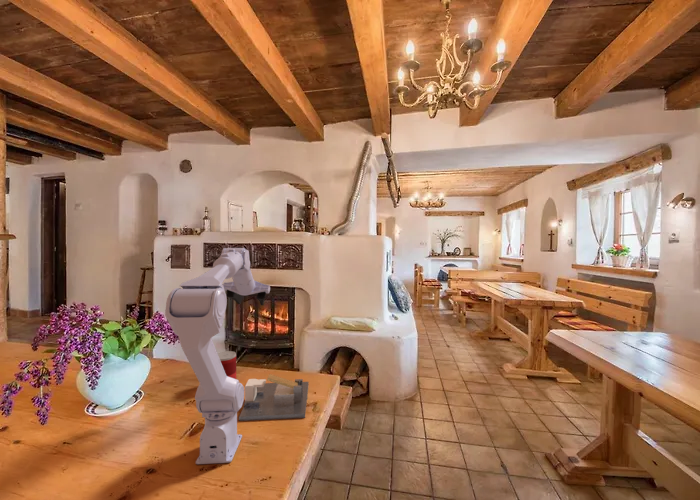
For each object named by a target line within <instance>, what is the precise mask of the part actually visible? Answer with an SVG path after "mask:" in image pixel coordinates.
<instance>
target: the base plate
mask: <svg viewBox="0 0 700 500" xmlns="http://www.w3.org/2000/svg"><path fill="white" fill-rule="evenodd" d="M294 382H297V383H300V386H294V389H293V388H290V387H287V386H284V385H281V384H277V383H274V382H267V383H266V382H265V385H264V387H257V395H256V398H255V400H254V401H246V402H245V401H243V407H242V409H241V411H240V413H239V415H238V421H239V422H242V421H243V422H246V421H248V422H249V421H264V420H265V421H266V420H268V421H269V420H286V419H302V418H303V419H304V418H306V410H307V404H308V403H307V402H308V393H309V381H304V380H303V379H302V378H298V379H297V378H295V380H294Z"/></svg>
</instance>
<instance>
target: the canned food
mask: <svg viewBox="0 0 700 500" xmlns="http://www.w3.org/2000/svg"><path fill="white" fill-rule="evenodd" d="M217 353H218V356H219V358H220V361H221V363H222V366H223V368H224V371H225V373H226V376H228V377H231V378H234V379H237V353H236V352H235V351H231V350H227V351H226V350H224V351H220V352H217Z"/></svg>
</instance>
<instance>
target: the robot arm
mask: <svg viewBox="0 0 700 500" xmlns="http://www.w3.org/2000/svg"><path fill="white" fill-rule="evenodd" d="M212 264H213V265H212V268H210V269H209V270H207V271H206V272H204V273H202V274H201V275H199V276H198V277H195V278H191V279H189V280H185V281H184V282H182V283H181V284H179V287H176V288H173V289H172V290H171V291H170V293H169V294H168V296H167V298H166V304H165V310H164V311H165V313H164V316H165V317H166V320H167V323H168V324H169V325H170V327H171V329H172V331H173V333H174V334H175V335H177V337H178V340H179V343H180V347H181V349H182V352H183V353H184V355H185V357H186V359H187V361H188V363H189V364H190V365H189V366H190V367H191V370H192V371H193V373H194V374H195V376H196V379H197V381H198V382H199V384H198V386H197V389H196V391H195V396H194V400H195V404H196V406H195V407H196V410H197V412H198V413H200V414H201V417H202V418H204V427H203V430H202V431H201V433H200V436H199V455H198V457H197V459H196V460H195V464H196V465H209V464H210V465H211V464H225V463H231V462H232V461H233V459H234V457H235V454H236V453H237V449H238V447H239V445H240V442H241V440H242V438H243V435H242V434H238V412H239V411H240V410H241V408H243V405H244V401H245V386H244V385H243V383H241V382H240V381H239V379H237V378H236V379H234V378H231V377H228V376H226V373H225V371H224V368H223V366H222V363H221V361H220V358H219V356H218V353H219V352H217V349H216V346H215V344H214V341H213V339H212V338H213V337H214V336H217V335H218V334H220V332H221V329H222V326H223V324H224V323H223V322H224V317H225V313H226V310H227V304H228V302H227V301H228V299H227V298H229V299H231V300H233V301H235V302H236V303H237V304H238V305H241V304H242V300H243V297H242V296H249V295H255V294H257V296H256V299H257V300H258V302H259V304H260V306H264V305H265V299H266V296H267V295H268V294H270V291H271V286H270V284H264V283H263V282H259V281H257V280H255V279H254V275H253V273H252V270H251V261H250V250H248V249H246V248H245V247H227V248H226V247H223V248H222V250H221V254H220V255H219V257H218V258H217V259H216V260H214V262H213V263H212ZM231 278H232V281H230V282H229V281H228V282H226V281H225V280H228V279H231ZM224 281H225V282H224Z"/></svg>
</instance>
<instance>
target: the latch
mask: <svg viewBox="0 0 700 500" xmlns="http://www.w3.org/2000/svg"><path fill="white" fill-rule="evenodd" d="M266 382H267V379H266V378H264V379H263V378H262V379H261V378H260V379H257V378H249V379H248V380H247V382H246V384H245V386H244V402H246V401H254V400H255V398H256V395H257V387H264V385H265V383H266Z"/></svg>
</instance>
